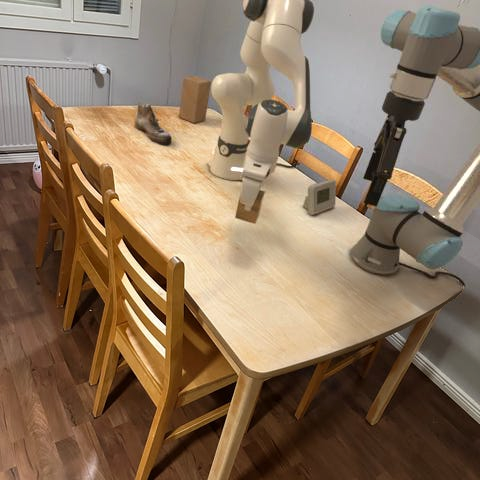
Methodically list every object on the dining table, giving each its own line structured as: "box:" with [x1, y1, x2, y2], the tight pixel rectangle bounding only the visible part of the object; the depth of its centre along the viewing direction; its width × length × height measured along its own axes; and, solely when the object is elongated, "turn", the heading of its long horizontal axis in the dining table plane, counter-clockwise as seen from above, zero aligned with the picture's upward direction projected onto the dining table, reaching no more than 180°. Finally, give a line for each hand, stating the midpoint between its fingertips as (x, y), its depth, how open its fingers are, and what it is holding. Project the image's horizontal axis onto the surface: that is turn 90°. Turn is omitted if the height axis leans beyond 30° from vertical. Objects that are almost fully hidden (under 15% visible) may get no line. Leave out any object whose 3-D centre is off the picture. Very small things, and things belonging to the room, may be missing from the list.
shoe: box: [134, 102, 172, 145], centre depth 194 cm, size 25×11×12 cm, turn 30°
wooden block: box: [178, 75, 212, 124], centre depth 221 cm, size 10×10×20 cm
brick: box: [234, 189, 266, 225], centre depth 129 cm, size 5×6×9 cm
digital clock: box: [302, 178, 337, 216], centre depth 164 cm, size 16×9×11 cm, turn 123°
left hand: (249, 204), depth 129 cm, fingers closed on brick, 5 cm apart
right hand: (369, 191), depth 98 cm, fingers open, 13 cm apart
